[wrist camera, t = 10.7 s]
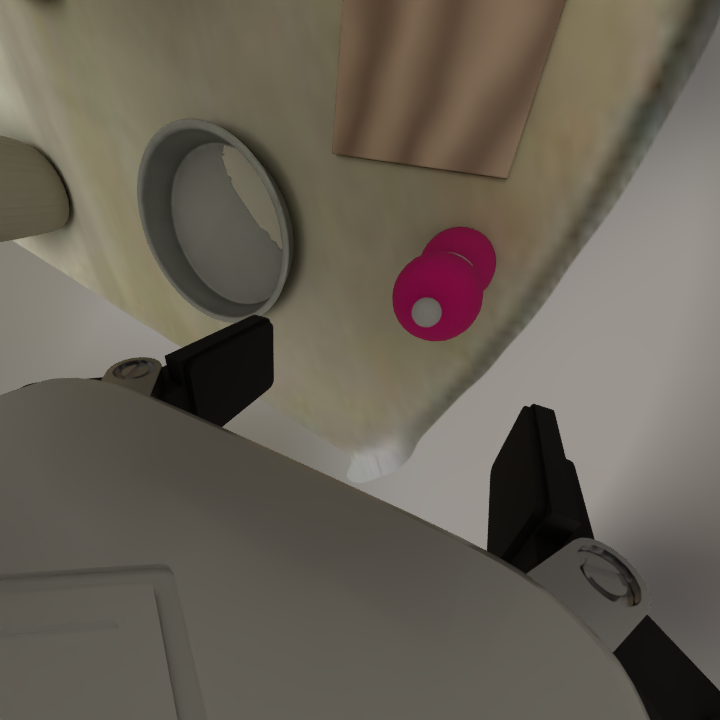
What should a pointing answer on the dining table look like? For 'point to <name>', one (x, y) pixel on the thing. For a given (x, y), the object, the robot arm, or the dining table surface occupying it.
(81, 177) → the dining table surface
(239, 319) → the cake pan
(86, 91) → the dining table surface
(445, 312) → the pepper mill
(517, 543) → the robot arm
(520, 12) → the brown flat board
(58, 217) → the canister
